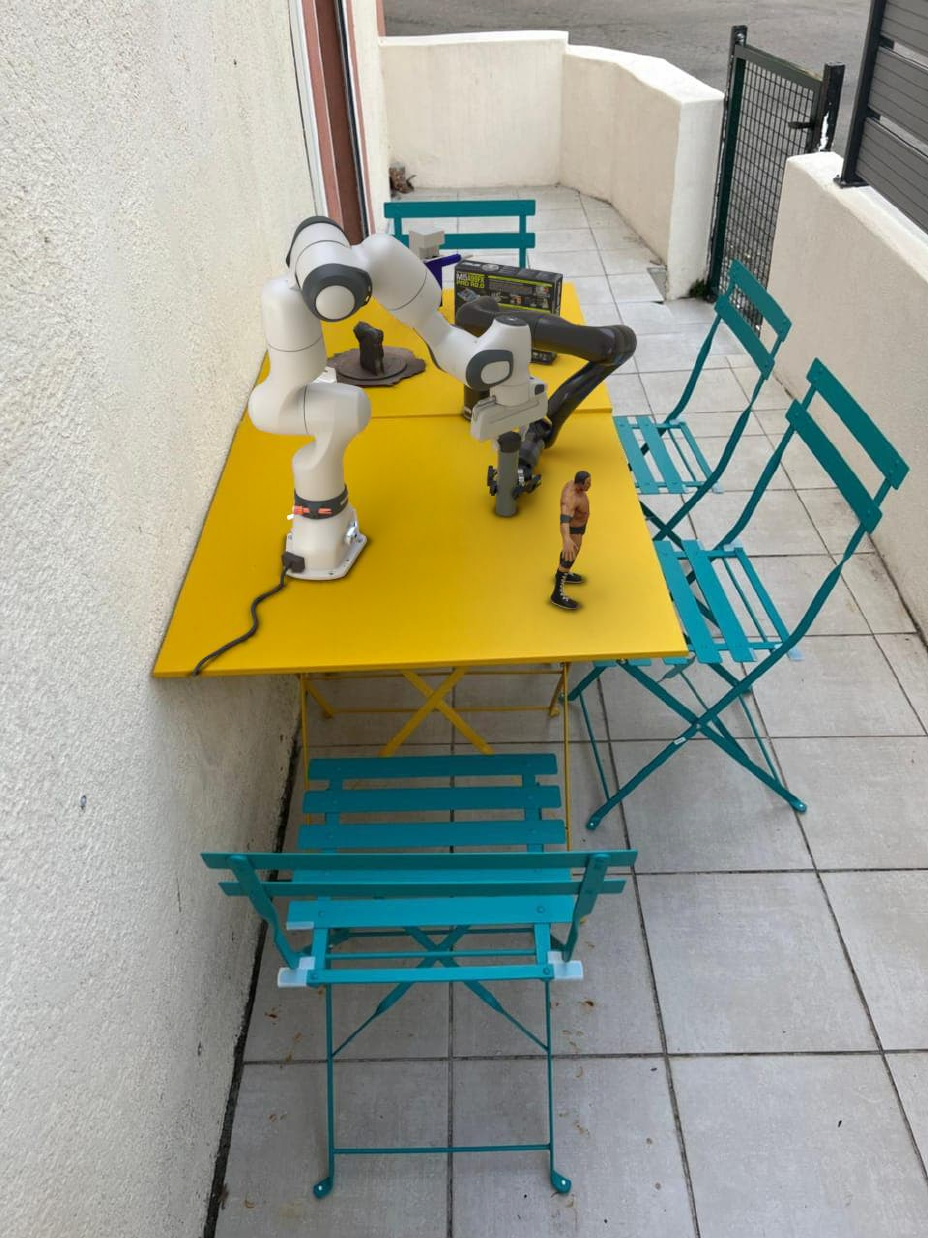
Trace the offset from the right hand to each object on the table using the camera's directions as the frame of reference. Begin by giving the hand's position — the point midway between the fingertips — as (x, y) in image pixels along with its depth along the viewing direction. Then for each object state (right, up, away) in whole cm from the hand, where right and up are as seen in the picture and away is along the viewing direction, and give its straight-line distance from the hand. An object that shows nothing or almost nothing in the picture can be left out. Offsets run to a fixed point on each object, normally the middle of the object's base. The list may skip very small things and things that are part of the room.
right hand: (503, 495), depth 210 cm
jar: (+1, -3, +6) cm, 7 cm away
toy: (-21, +74, +97) cm, 124 cm away
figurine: (+13, -24, -19) cm, 33 cm away
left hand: (+1, +11, -6) cm, 12 cm away
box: (+4, +57, +76) cm, 95 cm away
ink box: (-50, +28, +43) cm, 72 cm away
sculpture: (-39, +49, +68) cm, 93 cm away
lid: (+1, +12, -7) cm, 14 cm away
